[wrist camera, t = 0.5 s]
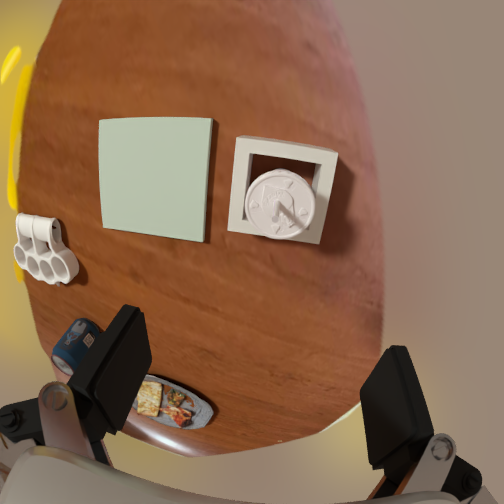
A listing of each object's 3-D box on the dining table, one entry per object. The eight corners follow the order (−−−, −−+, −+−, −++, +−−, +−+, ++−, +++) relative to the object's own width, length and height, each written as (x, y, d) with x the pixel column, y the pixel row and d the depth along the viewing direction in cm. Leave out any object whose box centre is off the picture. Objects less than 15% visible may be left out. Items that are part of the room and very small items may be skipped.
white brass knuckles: (72, 217, 38) (85, 289, 45) (16, 209, 39) (29, 270, 46) (60, 225, 35) (76, 299, 42) (5, 215, 36) (20, 278, 43)
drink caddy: (242, 135, 30) (236, 137, 26) (330, 148, 30) (338, 153, 26) (234, 217, 35) (227, 230, 31) (315, 229, 35) (319, 244, 31)
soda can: (89, 340, 52) (64, 377, 41) (72, 316, 49) (43, 353, 39) (108, 338, 50) (82, 379, 40) (90, 313, 48) (59, 353, 37)
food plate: (198, 431, 66) (196, 441, 62) (124, 401, 64) (119, 410, 61) (224, 393, 55) (221, 406, 52) (126, 353, 53) (120, 364, 50)
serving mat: (103, 119, 30) (99, 120, 29) (213, 118, 30) (211, 118, 29) (106, 224, 38) (103, 227, 37) (204, 239, 37) (202, 242, 36)
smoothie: (288, 147, 30) (292, 165, 18) (317, 191, 32) (337, 238, 20) (244, 175, 33) (219, 213, 20) (273, 217, 35) (267, 276, 22)
